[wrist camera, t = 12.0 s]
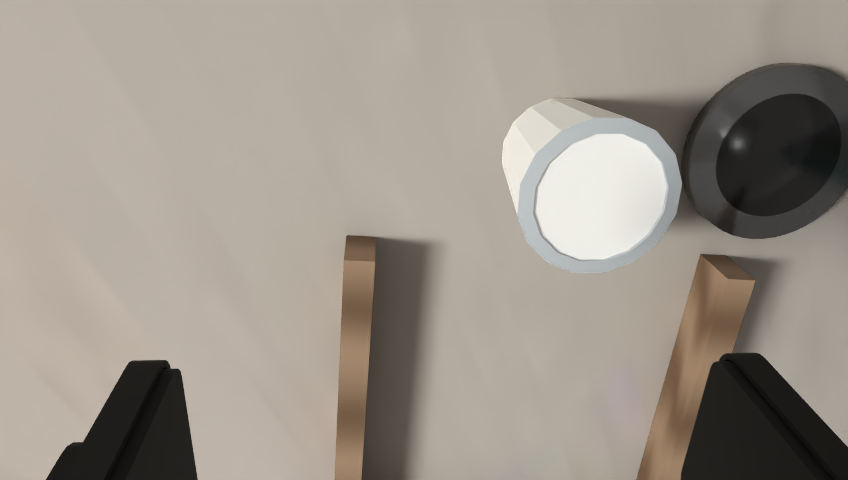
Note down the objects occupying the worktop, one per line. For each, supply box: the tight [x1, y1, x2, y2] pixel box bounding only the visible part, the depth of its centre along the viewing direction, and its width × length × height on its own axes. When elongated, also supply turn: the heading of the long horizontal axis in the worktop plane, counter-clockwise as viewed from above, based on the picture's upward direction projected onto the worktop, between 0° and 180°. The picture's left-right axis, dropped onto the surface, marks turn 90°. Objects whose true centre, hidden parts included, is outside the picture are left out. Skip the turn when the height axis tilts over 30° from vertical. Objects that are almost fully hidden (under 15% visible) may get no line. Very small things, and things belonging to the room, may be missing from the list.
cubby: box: [335, 236, 756, 480], centre depth 37 cm, size 20×21×3 cm
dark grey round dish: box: [682, 63, 848, 239], centre depth 33 cm, size 9×9×1 cm
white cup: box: [502, 98, 682, 273], centre depth 29 cm, size 7×7×7 cm
